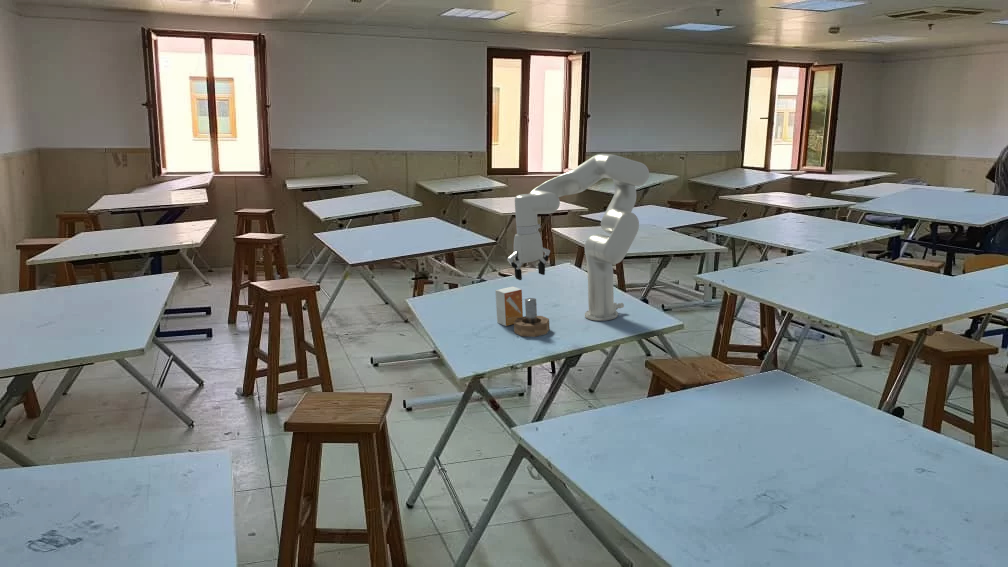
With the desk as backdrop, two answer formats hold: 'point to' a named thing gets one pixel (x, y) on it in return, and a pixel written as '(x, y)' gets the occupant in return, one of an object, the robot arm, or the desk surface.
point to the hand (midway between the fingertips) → (530, 276)
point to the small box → (508, 305)
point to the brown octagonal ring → (531, 327)
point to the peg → (531, 310)
